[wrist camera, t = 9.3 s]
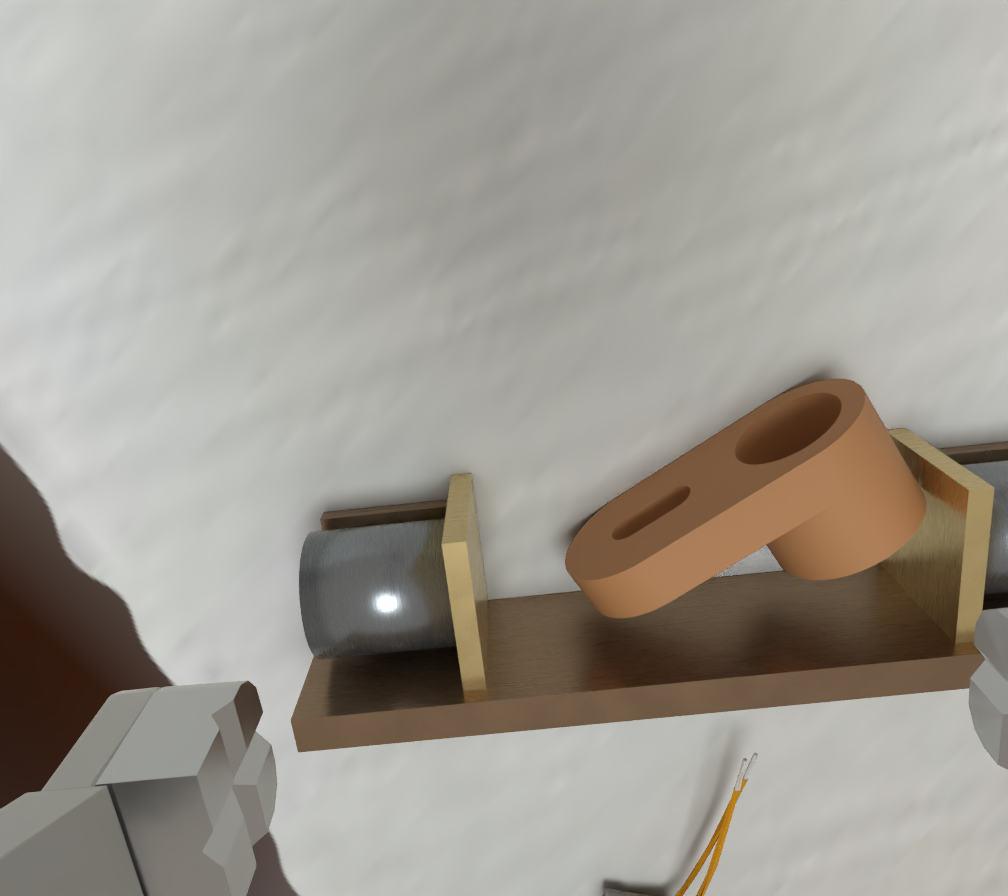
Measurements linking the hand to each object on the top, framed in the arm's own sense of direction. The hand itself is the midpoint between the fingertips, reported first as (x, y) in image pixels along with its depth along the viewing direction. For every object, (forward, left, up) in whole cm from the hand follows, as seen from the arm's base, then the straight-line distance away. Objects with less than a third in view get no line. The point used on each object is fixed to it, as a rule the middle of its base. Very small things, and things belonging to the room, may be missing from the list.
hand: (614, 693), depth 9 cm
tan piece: (+11, +8, -33) cm, 36 cm away
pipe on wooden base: (+16, +8, -37) cm, 41 cm away
